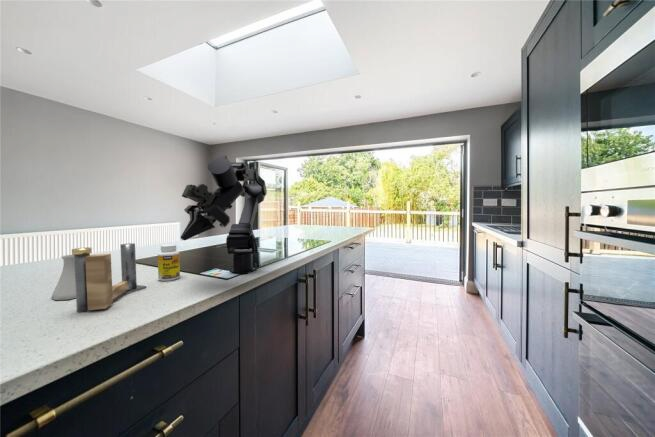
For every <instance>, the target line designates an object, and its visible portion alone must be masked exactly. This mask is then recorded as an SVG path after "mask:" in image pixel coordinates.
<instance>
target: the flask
mask: <svg viewBox="0 0 655 437" xmlns="http://www.w3.org/2000/svg"><path fill="white" fill-rule="evenodd" d="M61 259H63V266H62V270H61V271H62V272H61V274H60V276H59V279H58V281H57V284H56V286H55V288H54V290H53V292H52V295H51V297H50V298H51V299H52V300H54V301H61V300H62V301H63V300H64V301H65V300H66V301H67V300H73V299H76V285H75V266H74V255H72V254H65V255H61Z"/></svg>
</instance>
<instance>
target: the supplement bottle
mask: <svg viewBox="0 0 655 437" xmlns="http://www.w3.org/2000/svg"><path fill="white" fill-rule="evenodd" d="M180 259H181V258H180V251H179V250H177V244H174V243H173V244H172V243H171V244H170V243H169V244H162V245H160V251H159V252H158V253H157V269H158V272H157V273H158V278H157V279H158V280H159V281H161V282H169V281H170V282H171V281H175V280H178V279H179V278H180V277H181V270H180V269H181V268H180V267H181V264H180Z"/></svg>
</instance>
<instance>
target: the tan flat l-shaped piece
mask: <svg viewBox="0 0 655 437" xmlns="http://www.w3.org/2000/svg"><path fill="white" fill-rule="evenodd" d="M85 262H86V283H87V303H88V310H89V311H94V310H105V309H107V308H108V307H110V306H111V305H113V304H114V299H115V298H117V297H119V295H121V294H123V292H124V291H126V290H128V289H129V287H128V281H122V280H120V281H119V282H118V283H115V284H114V285H113V278H112V277H113V274H112V272H113V271H112V254H111V253H96V254H90V256H87V257H85Z"/></svg>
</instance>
